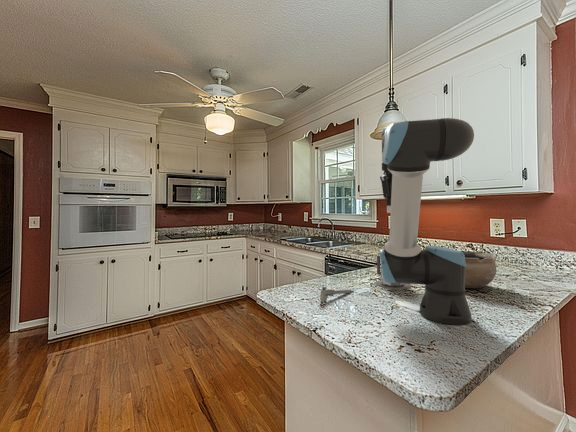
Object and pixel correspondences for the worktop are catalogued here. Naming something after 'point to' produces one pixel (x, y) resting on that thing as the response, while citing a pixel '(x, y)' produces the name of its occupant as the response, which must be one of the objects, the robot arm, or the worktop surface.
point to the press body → (382, 276)
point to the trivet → (392, 287)
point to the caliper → (331, 293)
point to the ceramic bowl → (479, 269)
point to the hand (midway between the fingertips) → (390, 212)
